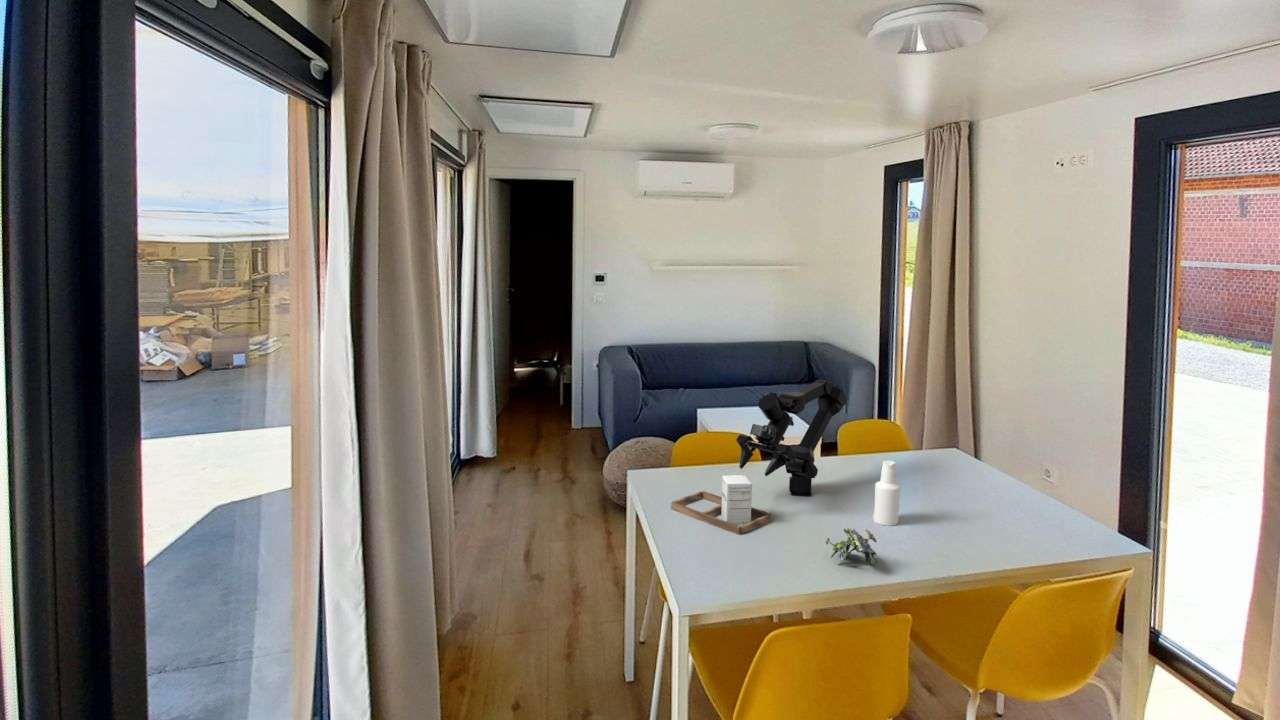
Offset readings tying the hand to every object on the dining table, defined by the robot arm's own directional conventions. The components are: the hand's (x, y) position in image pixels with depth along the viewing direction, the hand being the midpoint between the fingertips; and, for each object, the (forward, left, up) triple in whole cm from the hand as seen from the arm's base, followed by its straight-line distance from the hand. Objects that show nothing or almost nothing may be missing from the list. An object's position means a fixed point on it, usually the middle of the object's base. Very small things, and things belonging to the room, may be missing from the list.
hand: (752, 471), depth 203 cm
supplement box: (+4, +6, -13) cm, 15 cm away
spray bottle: (-39, -1, -13) cm, 41 cm away
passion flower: (-26, +29, -13) cm, 41 cm away
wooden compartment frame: (+9, +2, -13) cm, 16 cm away
